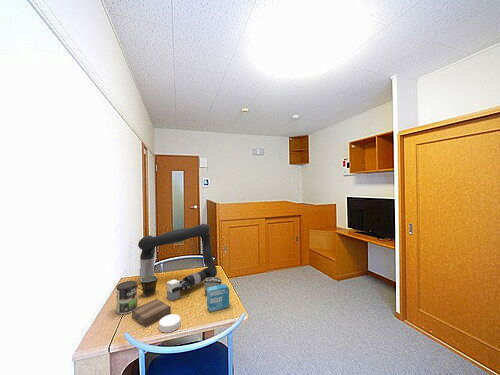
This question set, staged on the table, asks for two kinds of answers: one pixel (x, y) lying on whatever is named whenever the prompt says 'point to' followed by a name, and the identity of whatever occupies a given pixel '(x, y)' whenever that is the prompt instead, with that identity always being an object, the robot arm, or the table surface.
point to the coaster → (169, 323)
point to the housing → (170, 286)
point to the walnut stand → (151, 312)
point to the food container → (211, 283)
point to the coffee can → (126, 297)
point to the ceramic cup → (148, 285)
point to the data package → (217, 297)
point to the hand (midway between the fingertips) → (169, 289)
